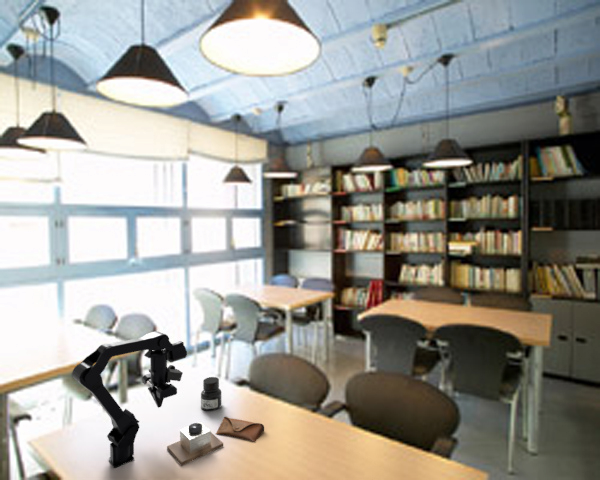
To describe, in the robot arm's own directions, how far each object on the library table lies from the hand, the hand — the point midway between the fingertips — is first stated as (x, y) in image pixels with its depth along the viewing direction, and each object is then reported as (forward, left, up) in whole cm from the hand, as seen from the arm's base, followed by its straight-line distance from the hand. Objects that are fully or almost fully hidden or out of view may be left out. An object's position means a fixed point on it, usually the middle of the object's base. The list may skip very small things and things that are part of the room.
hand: (159, 406), depth 135 cm
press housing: (+8, -13, -12) cm, 19 cm away
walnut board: (+8, -13, -13) cm, 20 cm away
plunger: (+8, -13, -11) cm, 19 cm away
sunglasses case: (+25, -15, -14) cm, 33 cm away
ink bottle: (+27, +10, -13) cm, 32 cm away
